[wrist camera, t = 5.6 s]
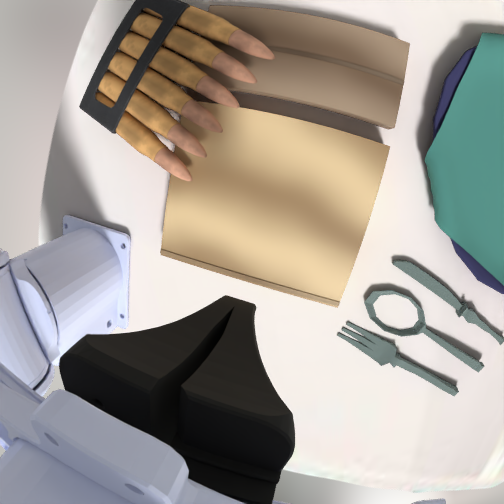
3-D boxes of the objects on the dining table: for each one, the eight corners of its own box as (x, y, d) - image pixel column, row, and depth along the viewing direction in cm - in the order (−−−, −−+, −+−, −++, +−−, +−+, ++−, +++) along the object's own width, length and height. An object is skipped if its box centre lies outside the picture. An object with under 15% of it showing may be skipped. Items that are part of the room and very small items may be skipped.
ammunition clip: (144, -13, 14) (279, 40, 12) (159, -5, 15) (288, 50, 14) (78, 107, 18) (176, 194, 17) (95, 108, 20) (192, 190, 19)
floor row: (388, 129, 17) (394, 127, 15) (197, 86, 18) (188, 82, 17) (403, 50, 14) (409, 43, 13) (217, 13, 16) (209, 4, 14)
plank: (336, 297, 21) (337, 308, 20) (169, 248, 23) (160, 255, 21) (384, 146, 17) (390, 146, 15) (193, 102, 18) (184, 99, 17)
